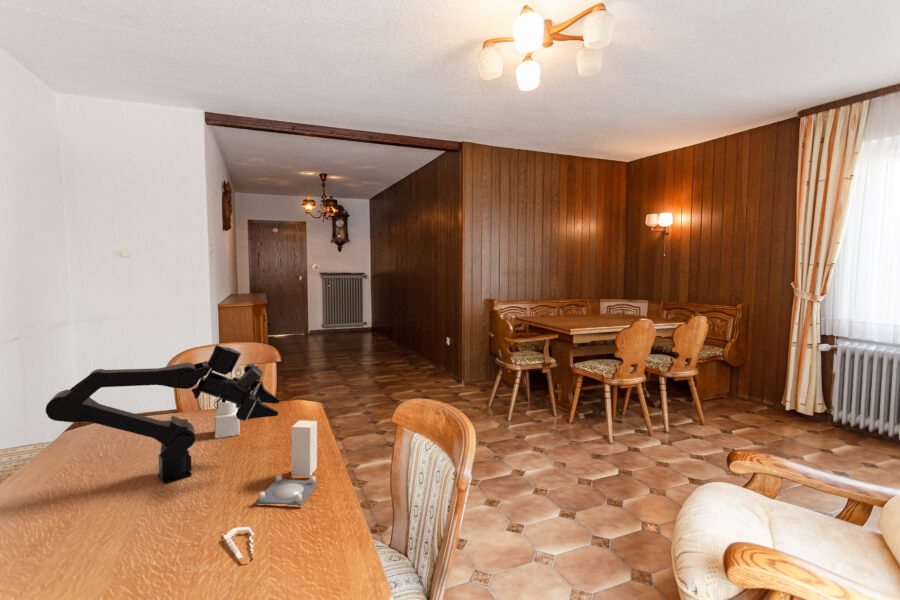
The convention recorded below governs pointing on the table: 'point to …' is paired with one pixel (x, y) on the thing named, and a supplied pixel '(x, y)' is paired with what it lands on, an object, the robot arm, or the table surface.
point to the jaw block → (304, 448)
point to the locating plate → (287, 491)
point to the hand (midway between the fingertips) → (278, 407)
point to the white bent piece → (231, 543)
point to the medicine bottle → (226, 419)
